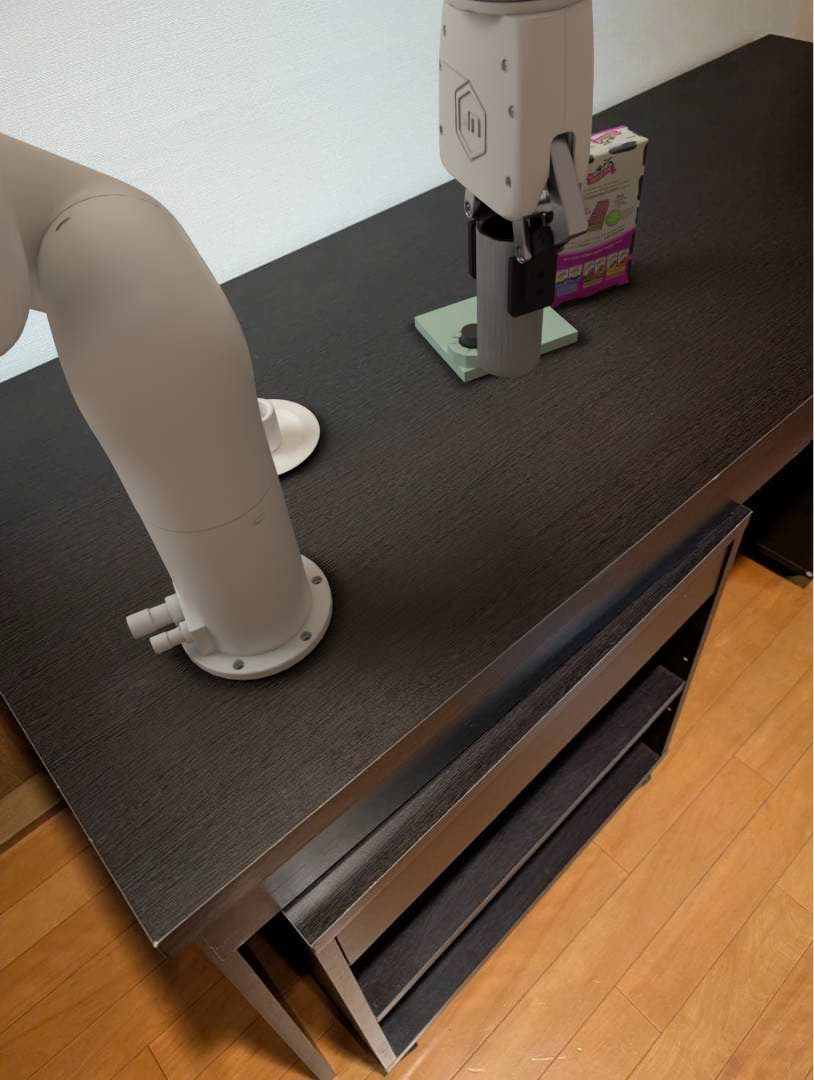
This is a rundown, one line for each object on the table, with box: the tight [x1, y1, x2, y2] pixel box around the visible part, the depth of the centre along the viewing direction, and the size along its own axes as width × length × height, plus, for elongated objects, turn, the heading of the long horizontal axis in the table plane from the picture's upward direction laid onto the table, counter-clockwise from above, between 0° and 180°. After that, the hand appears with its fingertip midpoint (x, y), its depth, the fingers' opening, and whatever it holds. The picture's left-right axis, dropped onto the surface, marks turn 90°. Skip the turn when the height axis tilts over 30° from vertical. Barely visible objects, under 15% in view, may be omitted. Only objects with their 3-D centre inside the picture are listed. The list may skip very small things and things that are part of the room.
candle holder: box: [257, 397, 321, 476], centre depth 75 cm, size 12×12×4 cm
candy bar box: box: [541, 125, 649, 310], centre depth 84 cm, size 11×5×16 cm, turn 114°
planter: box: [476, 210, 546, 378], centre depth 52 cm, size 4×4×10 cm
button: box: [461, 323, 477, 349], centre depth 80 cm, size 3×3×2 cm
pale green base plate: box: [414, 295, 579, 383], centre depth 84 cm, size 14×12×3 cm
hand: (510, 287), depth 51 cm, fingers closed on planter, 4 cm apart
